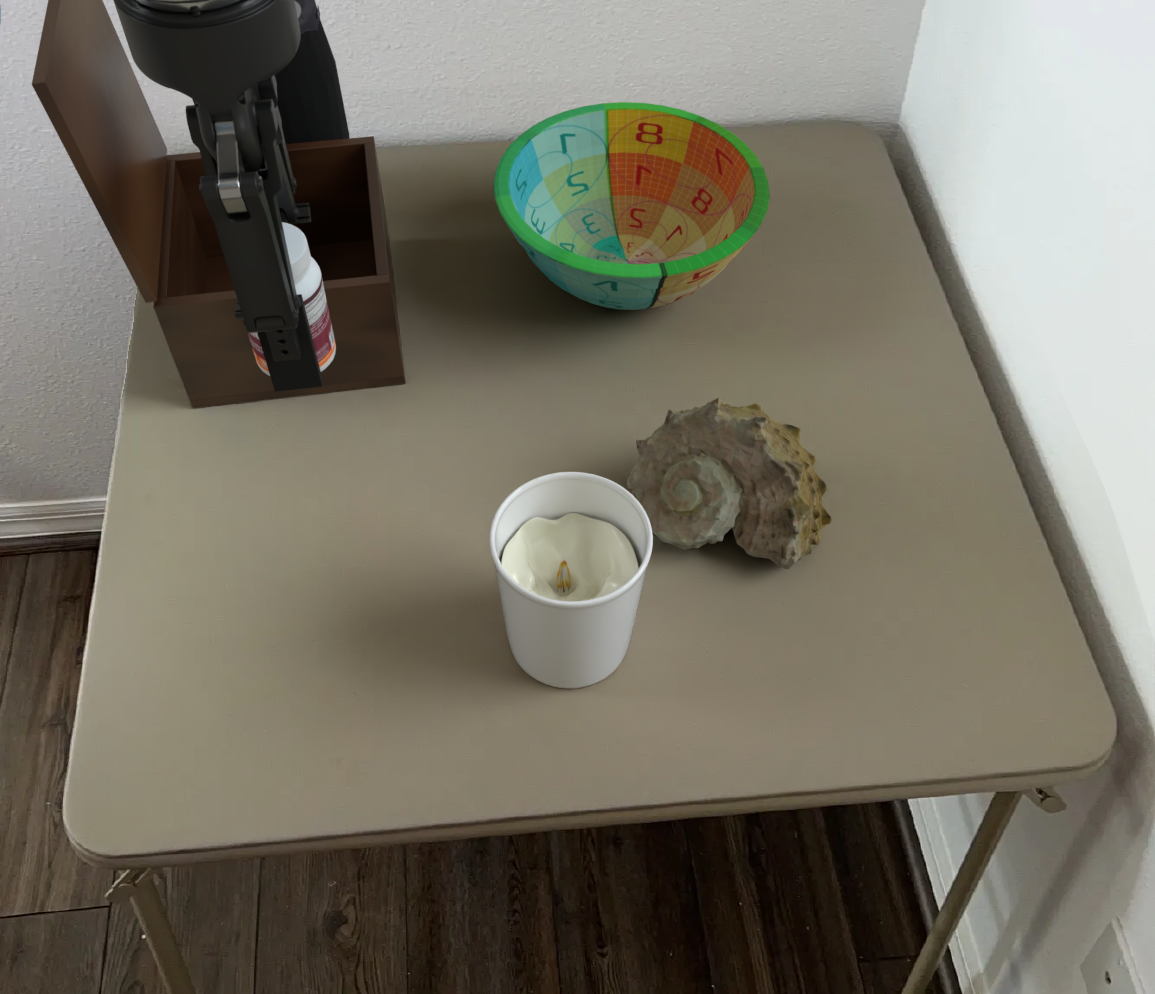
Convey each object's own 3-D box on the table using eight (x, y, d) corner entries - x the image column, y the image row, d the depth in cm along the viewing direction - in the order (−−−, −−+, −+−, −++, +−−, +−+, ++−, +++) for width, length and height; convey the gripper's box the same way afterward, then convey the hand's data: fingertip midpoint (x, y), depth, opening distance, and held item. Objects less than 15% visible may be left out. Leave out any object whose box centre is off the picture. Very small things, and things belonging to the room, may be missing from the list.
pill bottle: (240, 370, 66) (205, 260, 60) (283, 318, 69) (254, 207, 62) (311, 394, 65) (283, 284, 59) (352, 340, 68) (330, 229, 61)
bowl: (498, 195, 106) (494, 101, 98) (736, 192, 106) (751, 98, 98) (498, 370, 92) (492, 277, 84) (770, 365, 93) (789, 272, 85)
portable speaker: (262, 177, 107) (212, -24, 91) (362, 173, 107) (329, -27, 92) (253, 237, 101) (199, 34, 86) (359, 232, 102) (323, 30, 86)
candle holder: (485, 590, 79) (475, 486, 70) (619, 563, 81) (628, 458, 71) (513, 714, 74) (507, 619, 64) (658, 683, 75) (673, 586, 66)
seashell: (631, 464, 88) (623, 378, 80) (820, 459, 87) (832, 371, 79) (629, 586, 82) (621, 506, 73) (834, 583, 80) (849, 501, 72)
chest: (389, 239, 102) (373, 135, 93) (405, 383, 91) (389, 282, 82) (198, 259, 100) (164, 155, 91) (192, 408, 89) (153, 307, 80)
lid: (73, -68, 76) (61, -67, 76) (44, 82, 66) (31, 84, 66) (167, 149, 91) (157, 151, 91) (156, 301, 80) (145, 303, 80)
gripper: (286, 80, 44) (368, 459, 62) (286, -133, 54) (356, 246, 73) (85, 95, 43) (229, 474, 61) (125, -124, 53) (237, 256, 72)
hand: (298, 350), depth 67 cm, fingers closed on pill bottle, 5 cm apart
